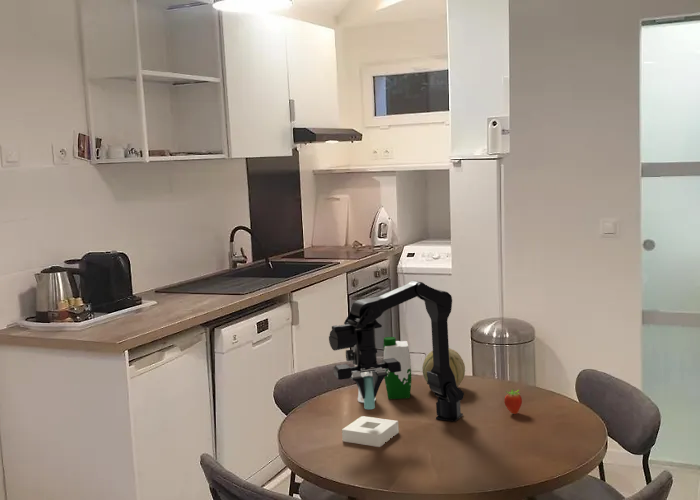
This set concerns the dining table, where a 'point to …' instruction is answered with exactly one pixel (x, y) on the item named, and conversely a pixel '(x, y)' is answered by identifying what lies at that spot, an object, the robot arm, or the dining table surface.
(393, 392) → the milk carton
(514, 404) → the fruit
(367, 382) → the peg
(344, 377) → the robot arm
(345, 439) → the socket block
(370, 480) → the dining table surface
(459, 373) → the cantaloupe
